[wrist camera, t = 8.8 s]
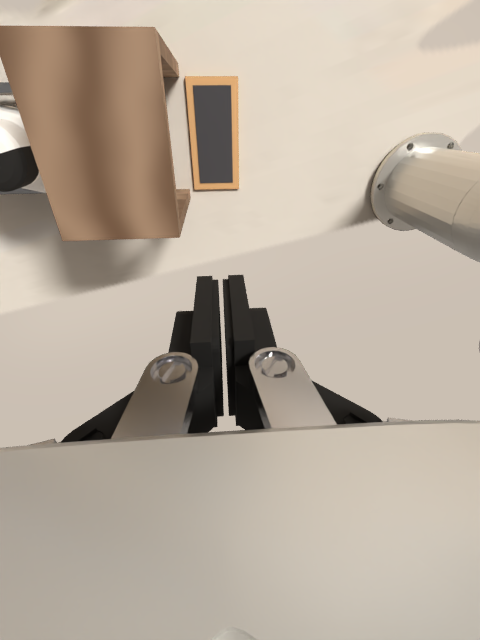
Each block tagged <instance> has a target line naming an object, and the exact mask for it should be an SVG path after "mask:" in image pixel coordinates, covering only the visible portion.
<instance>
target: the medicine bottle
mask: <svg viewBox="0 0 480 640" xmlns="http://www.w3.org/2000/svg"><path fill="white" fill-rule="evenodd" d="M19 188H23V189H28V190H33V191H38V192H43V193H46V190H45V187H44V184H43V181H42V178H41V176H40V173H39V170H38V167H37V164H36V161H35V158H34V155H33V152H32V149H31V146H30V143H29V140H28V137H27V134H26V131H25V128H24V125H23V122H22V119H21V116H20V113H19V110H18V108H17V107H13V106H3V105H0V191H1V192H9V191H13V190H16V189H19Z"/></svg>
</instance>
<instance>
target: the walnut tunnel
mask: <svg viewBox="0 0 480 640" xmlns="http://www.w3.org/2000/svg"><path fill="white" fill-rule="evenodd" d="M0 57H1V60H2V63H3V66H4V69H5V72H6V75H7V78H8V81H9V84H10V87H11V90H12V93H13V96H14V98H15V101H16V104H17V107H18V110H19V113H20V116H21V119H22V122H23V125H24V128H25V131H26V134H27V137H28V140H29V143H30V146H31V149H32V152H33V155H34V158H35V161H36V164H37V167H38V170H39V173H40V176H41V178H42V181H43V184H44V187H45V190H46V193H47V196H48V199H49V202H50V205H51V208H52V211H53V214H54V217H55V220H56V223H57V226H58V229H59V232H60V235H61V238H62V241H81V240H114V239H146V238H179V237H180V234H181V231H182V227H183V223H184V220H185V216H186V213H187V209H188V205H189V202H190V189H176V185H175V176H174V167H173V159H172V150H171V141H170V133H169V124H168V115H167V107H166V98H165V89H164V81H163V77H179V69H178V63H177V61H176V59H175V58H174V56H173V55H172V53H171V52H170V50H169V49H168V47H167V46H166V44H165V42H164V41H163V39H162V38H161V36H160V35H159V33H158V32H157V30H156V29H155V27H89V26H0Z"/></svg>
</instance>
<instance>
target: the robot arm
mask: <svg viewBox="0 0 480 640" xmlns="http://www.w3.org/2000/svg"><path fill="white" fill-rule="evenodd" d="M407 145H408V147H407ZM378 185H379V186H378ZM377 186H378V187H377ZM371 205H372V208H373V211H374V213H375V215H376V217H377V218H378V219H379V220H380V221H381V222H382V223H383V224H385V225H386V226H388V227H390V228H392V229H395V230H400V231H405V230H406V231H407V230H413V229H418V230H419V231H421V232H423V233H425V234H427V235H428V236H430V237H432V238H434V239H436V240H438V241H439V242H441V243H443V244H445V245H447V246H449V247H450V248H452V249H454V250H456V251H458V252H460V253H462V254H463V255H465V256H467V257H469V258H471V259H473V260H475V261H478V262H480V153H475V152H467V151H462V149H461V147H460V145H459V144H458V143H457V141H455V140H454V139H453V138H452V137H450V136H448V135H445V134H442V133H422V134H418V135H415V136H413V137H410V138H408V139H406V140H405V141H403V142H402V143H400V144H399V145H398V146H396V147H395V148H394V149H393V150H392V151H391V152H390V153H389V154H388V155H387V157H386V158H385V159H384V160H383V162H382V163H381V165H380V167H379V168H378V170H377V172H376V175H375V177H374V180H373V184H372V188H371ZM388 219H389V220H388ZM223 297H224V319H225V341H226V342H225V343H226V362H227V363H226V365H227V384H228V406H229V416H233V415H235V417H236V426H241V427H242V428H244V429H245V430H240V431H224V432H210V433H208V432H209V431H210V430H211V429H212V428H213V427H217V416H223V415H224V413H223V381H222V350H221V349H222V348H221V327H220V307H219V288H218V280H212V276H199V277H197V283H196V292H195V302H194V311H180V312H179V311H178V312H177V313H176V317H175V322H174V328H173V333H172V338H171V343H170V348H169V353H166V354H162V355H160V356H158V357H156V358H155V359H153V360H152V361H151V362H150V363H149V364H148V365H147V367H146V368H145V370H144V373H143V374H142V376H141V378H140V381H139V383H138V385H137V387H136V389H135V391H133V392H132V393H130V394H129V395H127V396H126V397H124V398H122V399H121V400H119V401H118V402H116V403H115V404H113V405H112V406H110V407H109V408H107V409H105V410H104V411H103V412H101V413H99V414H98V415H96V416H95V417H93V418H92V419H90V420H88V421H87V422H85V423H84V424H82V425H81V426H79V427H78V428H76V429H75V430H73V431H72V432H71V433H69V434H68V435H67V436H66V437H65V438H64V439H63V440H62V441H61V442H58V443H57V442H56V441H55V439H51V440H47V441H43V442H40V443H36V444H31V445H27V446H16V447H6V448H0V640H480V421H471V420H421V421H420V420H419V421H411V420H403V419H395V418H388V419H387V422H386V421H382V420H381V419H380V418H378V417H377V416H376V415H374V414H373V413H371V412H370V411H368V410H366V409H364V408H362V407H361V406H359V405H357V404H355V403H353V402H351V401H349V400H347V399H345V398H344V397H342V396H340V395H338V394H336V393H334V392H332V391H330V390H328V389H327V388H325V387H323V386H321V385H319V384H317V383H315V382H313V381H311V379H310V377H309V376H308V374H307V372H306V371H305V369H304V367H303V365H302V364H301V362H300V360H299V359H298V358H297V356H296V355H295V354H293V353H292V352H290V351H288V350H285V349H283V348H277V346H276V342H275V339H274V335H273V331H272V328H271V324H270V320H269V317H268V313H267V310H266V308H249V305H248V299H247V294H246V289H245V283H244V277H243V275H229V276H228V279H225V280H224V279H223ZM479 351H480V342H479Z"/></svg>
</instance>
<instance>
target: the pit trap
mask: <svg viewBox="0 0 480 640" xmlns="http://www.w3.org/2000/svg"><path fill="white" fill-rule="evenodd" d="M185 81H186V93H187V105H188V117H189V129H190V141H191V153H192V165H193V177H194V188H195V190H201V189H239V148H238V76H185Z"/></svg>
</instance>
